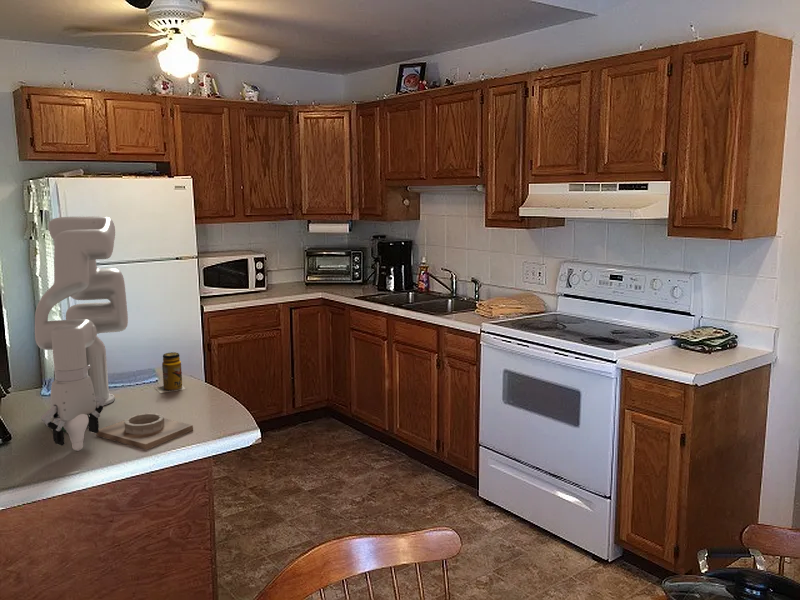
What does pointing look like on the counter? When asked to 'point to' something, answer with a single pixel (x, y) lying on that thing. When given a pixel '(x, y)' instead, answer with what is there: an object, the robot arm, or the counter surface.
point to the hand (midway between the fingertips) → (77, 438)
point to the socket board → (145, 439)
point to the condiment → (171, 373)
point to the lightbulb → (77, 430)
